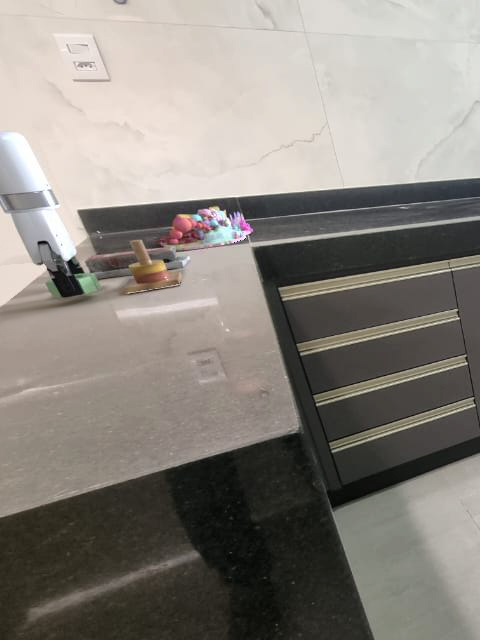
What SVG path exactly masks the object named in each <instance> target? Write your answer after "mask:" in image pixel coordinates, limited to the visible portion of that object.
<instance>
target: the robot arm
mask: <svg viewBox="0 0 480 640" xmlns="http://www.w3.org/2000/svg"><path fill="white" fill-rule="evenodd" d="M0 207H1V209H2V211H3V212H4V214H10V215H11V220H12V222H13V224H14V227H15V229H16V231H17V233H18V235H19V237H20V239H21V241H22V243H23V246H24V247H25V250H26V252H27V253H28V255H29V257H30V259H31V261H32V264H34V265H36V266H39V267H40V266H42V265H44V266H45V268H46V271H47V272H48V274H49V277H50V280H51V279H52V281H53V283H54V284H55V286H56V288H57V290H58V292H59V293H60V295H61V297H63V298H62V299H65V298H66V299H67V298H71V297H77V296H83V295H84V294H83V293H84V292H83V290H82V288H81V286H80V285H79V283H78V281H77V279H76V277H75V275H74V274H80V273H81V274H83V273H86V272H85V269H84V268H83V266H82V265H81V263H80V262H79V260H78V259H77V256H76V255H77V249H76V246H75V244H74V242H73V240H72V238H71V236H70V233H69V232H68V230H67V229H66V227H65V225H64V223H63V221H62V219H61V217H60V215H59V214H58V212H57V210H56V209H58V208H61V205H60V203H59V200H58V199H57V197H56V195H55V193H54V191H53V189H52V187H51V185H50V183H49V181H48V180H47V177H46V175H45V173H44V172H43V169H42V167H41V166H40V163H39V162H38V160H37V158H36V156H35V154H34V152H33V150H32V148H31V146H30V144H29V142H28V141H27V139H26V138H25V137H24V135H23V134H20V133H19V132H16V131H10V130H8V131H7V130H0Z"/></svg>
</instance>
